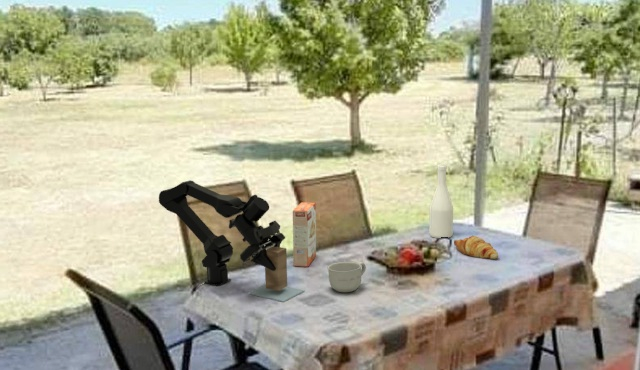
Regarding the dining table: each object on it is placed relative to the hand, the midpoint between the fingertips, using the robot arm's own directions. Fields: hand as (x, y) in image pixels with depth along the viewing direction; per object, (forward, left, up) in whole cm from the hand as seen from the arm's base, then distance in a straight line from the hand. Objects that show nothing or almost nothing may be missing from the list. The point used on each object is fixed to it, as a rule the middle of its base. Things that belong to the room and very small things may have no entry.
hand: (279, 267), depth 207 cm
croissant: (+37, +72, -9) cm, 81 cm away
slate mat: (-1, 0, -8) cm, 9 cm away
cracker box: (-13, +31, -9) cm, 35 cm away
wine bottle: (+15, +88, -9) cm, 90 cm away
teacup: (+16, +15, -9) cm, 24 cm away
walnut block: (-1, 0, -7) cm, 7 cm away
